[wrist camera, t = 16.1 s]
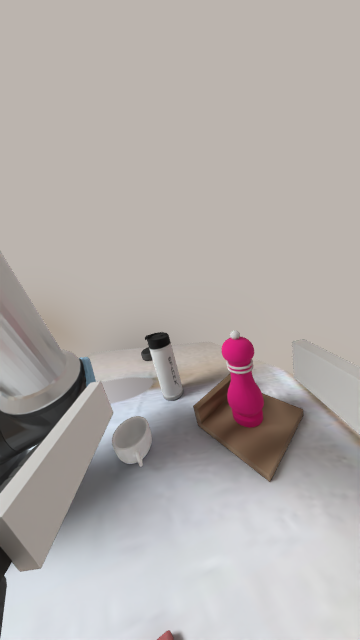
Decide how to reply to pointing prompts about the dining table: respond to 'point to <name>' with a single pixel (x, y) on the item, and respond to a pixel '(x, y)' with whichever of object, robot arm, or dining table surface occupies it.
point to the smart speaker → (146, 354)
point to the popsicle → (166, 636)
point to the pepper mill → (242, 381)
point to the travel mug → (165, 365)
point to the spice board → (249, 443)
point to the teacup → (132, 440)
